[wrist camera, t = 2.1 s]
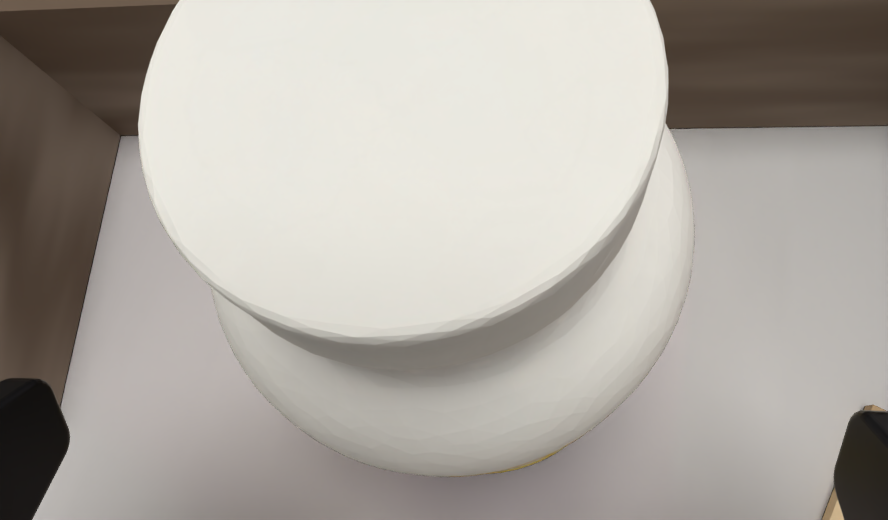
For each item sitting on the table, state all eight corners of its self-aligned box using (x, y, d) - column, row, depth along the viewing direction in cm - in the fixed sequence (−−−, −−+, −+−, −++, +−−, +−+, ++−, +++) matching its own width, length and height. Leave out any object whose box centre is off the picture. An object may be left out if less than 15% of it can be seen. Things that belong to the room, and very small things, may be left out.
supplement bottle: (465, 187, 19) (361, -301, 7) (660, 321, 17) (973, -31, 5) (315, 368, 18) (-113, 155, 6) (508, 532, 16) (456, 707, 4)
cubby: (1043, 490, 15) (1352, 500, 9) (19, 437, 18) (-205, 421, 13) (958, 92, 18) (1151, -78, 13) (98, 108, 22) (-54, -21, 16)
